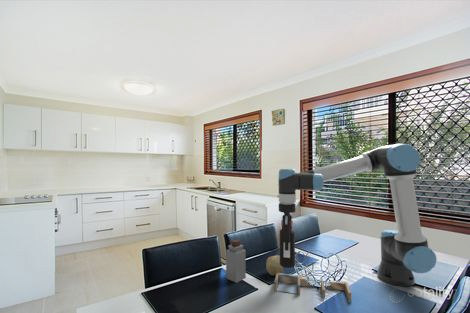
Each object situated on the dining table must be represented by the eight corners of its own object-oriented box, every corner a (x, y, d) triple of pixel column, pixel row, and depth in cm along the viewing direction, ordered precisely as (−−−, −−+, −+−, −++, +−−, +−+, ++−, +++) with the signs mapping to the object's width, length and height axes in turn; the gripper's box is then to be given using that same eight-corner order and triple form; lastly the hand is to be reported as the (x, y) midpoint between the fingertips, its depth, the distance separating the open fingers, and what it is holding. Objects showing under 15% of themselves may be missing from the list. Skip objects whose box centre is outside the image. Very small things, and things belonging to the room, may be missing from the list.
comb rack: (346, 289, 109) (346, 280, 109) (351, 302, 99) (351, 291, 99) (276, 280, 117) (276, 272, 117) (274, 291, 107) (274, 282, 107)
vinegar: (297, 267, 108) (297, 221, 109) (284, 269, 106) (283, 222, 107) (290, 261, 115) (290, 218, 115) (277, 263, 113) (276, 219, 113)
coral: (291, 264, 119) (272, 256, 119) (282, 283, 119) (263, 275, 119) (287, 255, 128) (269, 248, 128) (279, 273, 129) (262, 265, 129)
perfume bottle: (245, 277, 120) (245, 240, 121) (236, 282, 115) (236, 244, 116) (235, 273, 125) (235, 237, 125) (226, 278, 120) (226, 241, 120)
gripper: (280, 199, 121) (280, 246, 120) (276, 206, 103) (276, 261, 102) (295, 200, 119) (296, 248, 118) (295, 206, 101) (295, 263, 100)
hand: (287, 254), depth 110 cm, fingers closed on vinegar, 6 cm apart
